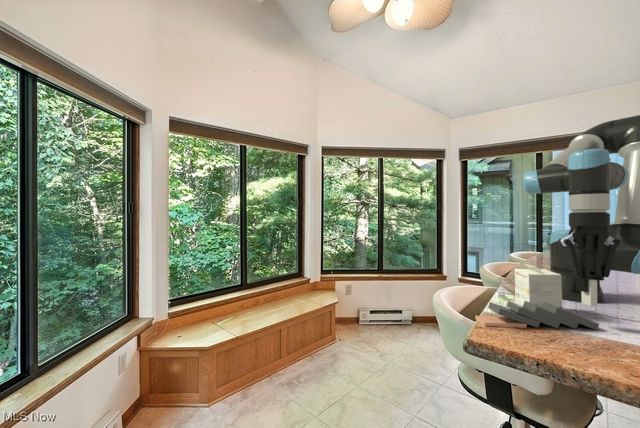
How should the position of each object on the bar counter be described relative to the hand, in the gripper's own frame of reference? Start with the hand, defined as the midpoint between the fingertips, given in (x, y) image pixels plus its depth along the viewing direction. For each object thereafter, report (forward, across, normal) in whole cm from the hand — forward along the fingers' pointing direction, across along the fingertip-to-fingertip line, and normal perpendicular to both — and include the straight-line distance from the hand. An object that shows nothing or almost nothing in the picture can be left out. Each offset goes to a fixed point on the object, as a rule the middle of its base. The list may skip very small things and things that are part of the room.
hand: (589, 304), depth 70 cm
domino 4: (+5, +4, 0) cm, 6 cm away
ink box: (+6, +6, -11) cm, 13 cm away
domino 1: (+5, +16, 0) cm, 17 cm away
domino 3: (+5, +9, 0) cm, 10 cm away
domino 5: (+5, 0, 0) cm, 5 cm away
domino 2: (+5, +13, 0) cm, 14 cm away
